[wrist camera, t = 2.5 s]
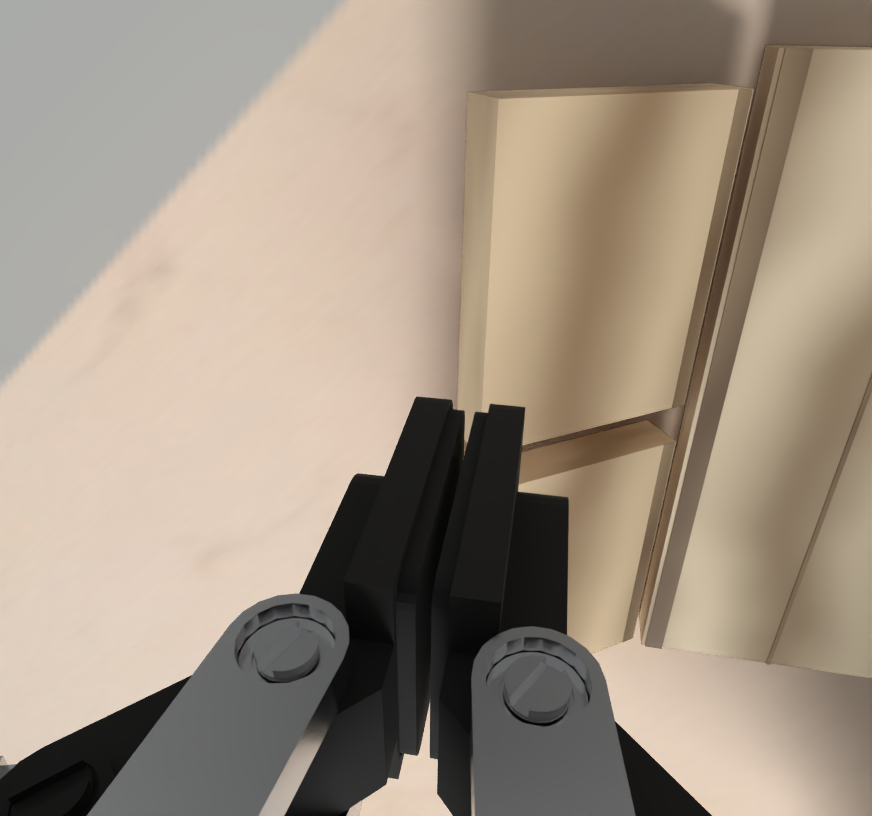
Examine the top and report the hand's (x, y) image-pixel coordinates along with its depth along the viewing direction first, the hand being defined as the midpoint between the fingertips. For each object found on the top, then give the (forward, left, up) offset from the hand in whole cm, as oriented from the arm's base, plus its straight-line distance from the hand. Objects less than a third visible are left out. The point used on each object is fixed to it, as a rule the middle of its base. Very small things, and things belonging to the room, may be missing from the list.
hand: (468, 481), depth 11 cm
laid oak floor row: (-11, +6, -15) cm, 20 cm away
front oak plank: (-2, 0, -12) cm, 12 cm away
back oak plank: (-2, +12, -12) cm, 17 cm away
